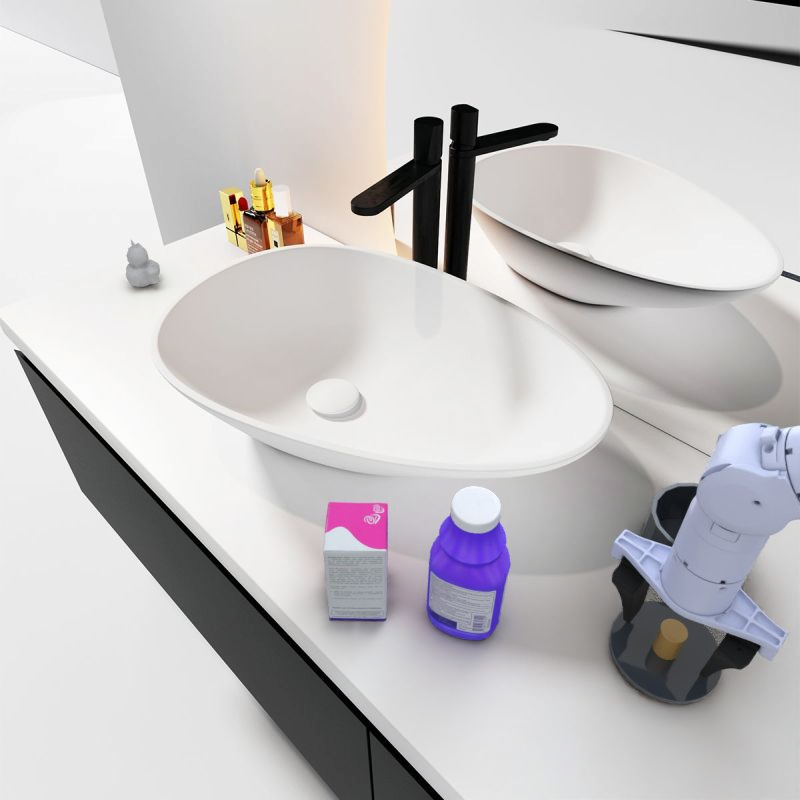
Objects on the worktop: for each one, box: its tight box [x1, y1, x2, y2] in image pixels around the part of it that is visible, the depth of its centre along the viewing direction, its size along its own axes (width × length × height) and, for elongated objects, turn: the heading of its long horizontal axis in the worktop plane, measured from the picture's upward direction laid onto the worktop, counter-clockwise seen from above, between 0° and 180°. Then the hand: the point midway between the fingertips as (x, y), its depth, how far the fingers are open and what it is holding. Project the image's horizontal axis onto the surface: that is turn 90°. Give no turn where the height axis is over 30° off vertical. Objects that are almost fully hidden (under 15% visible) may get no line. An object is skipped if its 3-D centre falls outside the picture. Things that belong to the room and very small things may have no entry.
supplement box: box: [322, 501, 389, 622], centre depth 66 cm, size 6×6×12 cm
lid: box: [608, 600, 723, 705], centre depth 64 cm, size 10×10×4 cm
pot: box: [639, 482, 699, 547], centre depth 72 cm, size 9×9×6 cm
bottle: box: [426, 485, 511, 641], centre depth 63 cm, size 7×6×17 cm
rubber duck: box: [125, 239, 161, 288], centre depth 111 cm, size 5×7×8 cm
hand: (668, 640), depth 64 cm, fingers open, 7 cm apart
